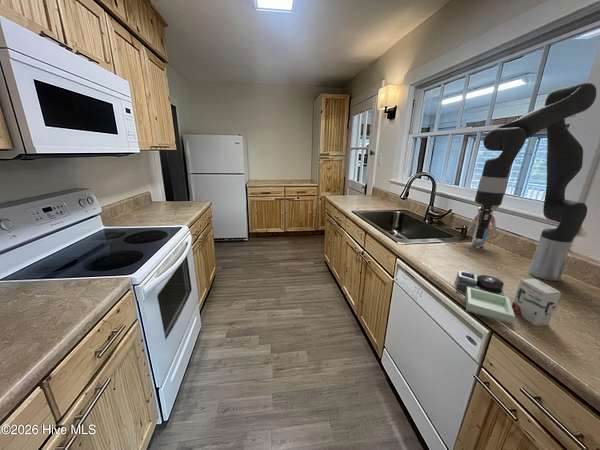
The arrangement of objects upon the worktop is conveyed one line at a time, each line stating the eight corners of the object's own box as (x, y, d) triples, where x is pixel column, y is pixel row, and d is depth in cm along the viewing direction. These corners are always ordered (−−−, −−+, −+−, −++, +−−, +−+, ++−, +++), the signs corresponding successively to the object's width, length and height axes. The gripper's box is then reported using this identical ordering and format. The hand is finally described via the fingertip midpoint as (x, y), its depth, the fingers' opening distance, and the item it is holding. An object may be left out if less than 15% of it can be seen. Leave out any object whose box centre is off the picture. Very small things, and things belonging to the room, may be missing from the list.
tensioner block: (498, 289, 94) (502, 276, 92) (502, 302, 86) (506, 288, 84) (456, 278, 101) (459, 266, 99) (455, 289, 93) (459, 277, 91)
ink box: (509, 308, 82) (519, 278, 79) (522, 308, 83) (533, 277, 79) (535, 326, 74) (547, 293, 71) (549, 325, 75) (562, 292, 71)
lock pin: (481, 244, 90) (488, 218, 87) (482, 247, 87) (489, 220, 84) (470, 242, 92) (477, 217, 89) (471, 245, 89) (477, 219, 86)
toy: (492, 247, 135) (507, 194, 126) (492, 252, 128) (508, 196, 119) (464, 241, 143) (476, 191, 134) (462, 246, 136) (475, 193, 127)
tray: (506, 304, 84) (508, 297, 84) (512, 324, 75) (515, 316, 74) (465, 293, 90) (467, 286, 90) (466, 310, 81) (468, 303, 80)
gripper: (507, 194, 76) (493, 245, 81) (501, 188, 87) (489, 233, 92) (478, 191, 79) (466, 240, 85) (476, 186, 91) (466, 230, 96)
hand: (478, 236), depth 88 cm, fingers closed on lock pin, 3 cm apart
